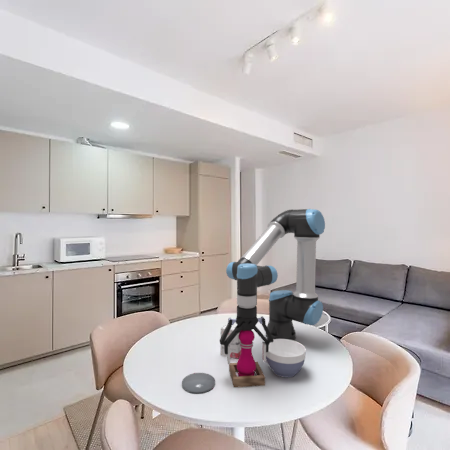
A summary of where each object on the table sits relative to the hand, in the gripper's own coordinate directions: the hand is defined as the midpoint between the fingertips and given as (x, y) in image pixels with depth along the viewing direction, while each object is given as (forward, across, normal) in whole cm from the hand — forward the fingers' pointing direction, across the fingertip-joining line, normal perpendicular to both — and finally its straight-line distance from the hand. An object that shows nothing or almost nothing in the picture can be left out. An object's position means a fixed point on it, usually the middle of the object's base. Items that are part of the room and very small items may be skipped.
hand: (246, 361), depth 109 cm
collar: (+6, 0, 0) cm, 6 cm away
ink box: (+7, +3, -19) cm, 20 cm away
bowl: (+7, -16, -3) cm, 18 cm away
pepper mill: (+6, 0, 0) cm, 6 cm away
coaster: (+6, +18, +2) cm, 19 cm away
